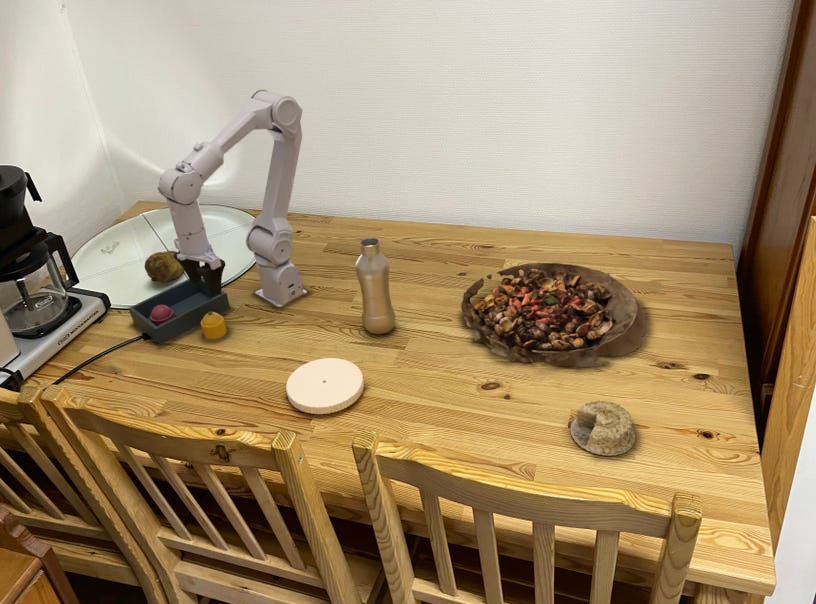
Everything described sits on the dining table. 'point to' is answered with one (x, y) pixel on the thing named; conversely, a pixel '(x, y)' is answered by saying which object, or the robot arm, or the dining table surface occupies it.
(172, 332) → the tote
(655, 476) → the dining table surface
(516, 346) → the food dish
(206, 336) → the orange rounded piece
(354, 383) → the plastic lid
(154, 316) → the dark red hollow cup
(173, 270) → the potato
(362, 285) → the plastic bottle
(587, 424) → the cake
